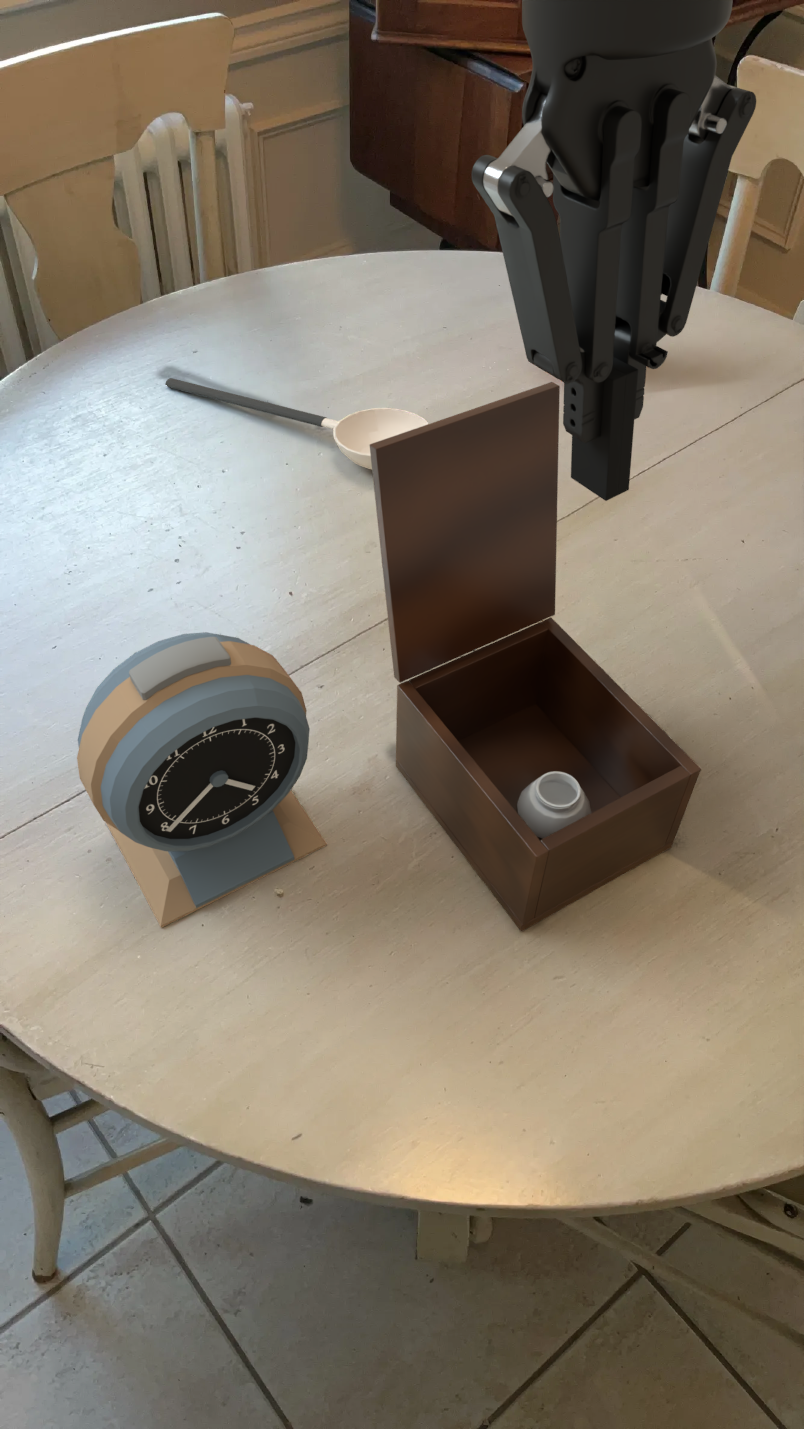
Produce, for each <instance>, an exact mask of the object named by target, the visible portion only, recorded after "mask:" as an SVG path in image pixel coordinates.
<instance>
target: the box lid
mask: <svg viewBox="0 0 804 1429" xmlns="http://www.w3.org/2000/svg"><path fill="white" fill-rule="evenodd" d="M560 389H561V387H560V385H559V384H557V383H555V382H553V381H550V382H547V383H544V384H541V385H539V386H536V387H532V388H530V389H527V390H523V391H521V392H518V393H515V394H513V395H509V396H507V397H504V398H501V399H497V400H495V401H492V402H488V403H486V404H482V405H481V406H478V407H477V406H476V407H475V408H471V409H469V410H465V411H462V412H460V413H457V414H454V415H452V416H449V417H446V418H442V419H439V420H437V421H434V422H431V423H429V424H428V425H425V426H422V427H419V428H416V429H413V430H410V431H407V432H404V433H401V434H399V435H396V436H393V437H390V438H387V439H384V440H381V441H378V442H375V443H372V444H370V454H371V464H372V469H371V474H372V480H373V481H372V482H373V492H374V500H375V508H376V509H375V512H376V519H377V528H378V538H379V548H380V557H381V565H382V576H383V585H384V595H385V604H386V614H387V622H388V631H389V632H388V633H389V642H390V650H391V652H390V653H391V661H392V662H391V663H392V671H393V678H394V679H395V680H397V681H398V683H399V684H401V683H403V682H405V681H409V680H410V679H412V678H414V677H416V676H419V675H421V674H423V673H425V672H428V671H430V670H432V669H435V668H437V667H439V666H441V665H444V664H446V663H448V662H450V661H453V660H455V659H457V658H460V657H462V656H464V655H466V654H469V653H471V652H473V651H475V650H478V649H480V648H482V647H485V646H487V645H489V644H491V643H494V642H496V641H498V640H500V639H503V638H505V637H507V636H510V635H512V634H514V633H516V632H519V631H521V630H523V629H525V628H528V627H530V626H532V625H534V624H537V623H539V622H542V621H544V620H546V619H548V618H550V617H551V618H552V617H553V616H555V615H556V588H557V586H556V585H557V584H556V582H557V539H558V536H557V534H558V492H559V490H558V486H559V485H558V484H559V438H560V437H559V436H560V435H559V432H560V394H561V393H560V391H561V390H560Z"/></svg>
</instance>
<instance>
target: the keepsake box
mask: <svg viewBox="0 0 804 1429" xmlns="http://www.w3.org/2000/svg"><path fill="white" fill-rule="evenodd" d="M396 689H397V690H396V723H395V724H396V728H395V731H396V732H395V733H396V735H395V736H396V737H395V767H396V769H397V770H398V771H399V774H401V775H402V777H403V778H404V779H405V781H406V782H407V783H408V785H409V786H410V787H411V788H412V790H413V791H414V793H415V794H416V795H417V796H418V798H419V799H420V801H421V802H422V803H423V805H424V806H425V807H426V809H427V810H428V811H429V813H430V814H431V815H432V816H433V818H434V819H435V820H436V822H437V823H438V824H439V825H440V826H441V828H442V830H443V831H444V832H445V833H446V835H447V836H448V837H449V839H450V840H451V842H452V843H453V844H454V845H455V847H456V848H457V850H459V852H460V853H461V854H462V856H463V857H464V858H465V860H466V862H468V863H469V865H470V866H471V868H472V869H473V870H474V872H475V873H476V874H477V876H479V878H480V880H481V881H482V883H483V884H484V885H485V886H486V887H487V889H488V890H489V891H490V893H491V895H493V897H494V898H495V899H496V901H497V902H498V903H499V904H500V906H501V907H502V908H503V910H504V911H505V913H506V914H507V915H508V916H509V918H510V919H511V920H512V922H513V923H514V924H515V926H516V927H517V928H518V929H519V931H520V932H521V933H522V932H524V931H525V930H527V929H529V928H531V927H532V926H534V925H536V924H538V923H539V922H542V921H543V920H545V919H548V918H549V917H550V916H553V915H554V914H556V913H557V912H559V911H561V910H562V909H565V908H567V907H568V906H570V905H572V904H574V903H575V902H578V901H579V900H580V899H583V898H585V897H586V896H587V895H589V894H591V893H593V892H595V891H596V890H599V889H601V888H602V887H604V886H605V885H607V884H609V883H611V882H612V881H614V880H616V879H618V878H620V877H621V876H624V875H625V874H627V873H629V872H630V871H632V870H634V869H636V868H638V867H639V866H641V865H643V864H645V863H647V862H648V861H650V860H651V859H654V858H655V857H657V856H659V855H660V854H663V853H664V852H666V851H668V850H670V849H672V848H673V845H674V842H675V840H676V837H677V836H678V835H677V834H678V832H679V829H680V827H681V824H682V821H683V819H684V817H685V813H686V811H687V809H688V806H689V803H690V801H691V798H692V795H693V793H694V790H695V787H696V784H697V783H698V780H699V778H700V774H701V771H702V768H701V767H700V766H699V764H698V763H697V762H695V761H694V760H693V759H692V758H691V756H689V754H687V752H686V751H685V750H684V749H683V748H682V747H681V746H679V744H678V743H677V742H676V741H674V739H673V738H672V737H671V736H670V735H669V734H668V733H667V732H666V731H665V730H664V729H663V728H661V726H660V725H659V724H658V723H657V722H655V720H654V719H653V718H652V717H651V716H650V715H649V714H648V713H647V712H646V711H645V710H644V709H643V708H642V707H641V706H640V705H639V704H638V703H637V702H636V701H635V700H634V699H633V698H632V697H631V696H630V695H629V694H628V693H627V692H626V691H625V690H624V689H623V688H622V687H621V686H620V685H619V684H618V683H617V682H616V681H615V680H614V679H613V678H612V677H611V676H610V675H609V674H608V673H607V672H606V671H605V670H604V669H603V668H602V667H601V666H600V665H599V664H598V663H597V662H596V661H595V659H593V658H592V657H591V656H590V655H589V654H588V652H586V651H585V650H584V649H583V648H582V647H581V646H580V645H579V643H578V642H576V641H575V639H573V637H571V635H570V634H568V633H567V632H566V631H565V629H564V628H563V627H562V626H560V624H558V622H556V620H554V618H552V616H551V617H548V618H546V619H544V620H542V621H539V622H537V623H535V624H533V625H530V626H528V627H526V628H523V629H521V630H519V631H517V632H514V633H512V634H510V635H508V636H505V637H503V638H501V639H498V640H496V641H494V642H492V643H489V644H487V645H485V646H483V647H480V648H478V649H476V650H473V651H471V652H469V653H467V654H464V655H462V656H460V657H458V658H455V659H453V660H451V661H448V662H446V663H444V664H442V665H439V666H437V667H435V668H433V669H430V670H428V671H426V672H423V673H421V674H419V675H417V676H414V677H412V678H410V679H408V680H405V681H403V682H401V683H398V684H397V685H396ZM553 771H558V772H564V773H567V774H569V775H571V776H572V777H573V778H575V779H576V780H577V782H578V783H579V785H580V787H581V789H582V790H583V792H584V793H585V795H586V797H587V798H588V800H589V802H590V808H591V814H589V815H587V816H585V817H583V818H581V819H579V820H577V821H576V822H574V823H572V824H570V825H568V826H566V827H564V828H562V829H560V830H559V831H557V832H555V833H553V834H551V835H549V836H547V837H545V838H540V837H537V836H536V835H535V834H534V833H533V831H532V830H531V829H530V828H529V826H528V825H527V824H526V823H525V822H524V820H523V819H522V818H521V817H520V816H519V814H518V809H517V803H518V800H519V797H520V795H521V792H522V791H523V790H524V789H525V788H526V787H527V786H528V785H529V784H531V783H532V782H533V781H535V780H536V779H538V778H539V777H541V776H542V775H544V774H546V773H548V772H553Z"/></svg>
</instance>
